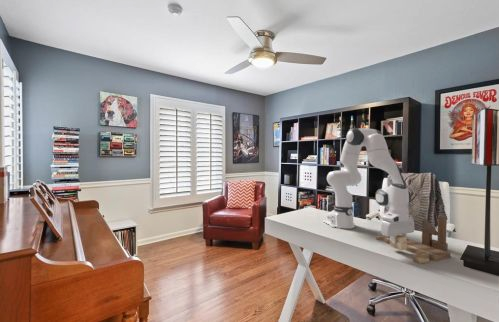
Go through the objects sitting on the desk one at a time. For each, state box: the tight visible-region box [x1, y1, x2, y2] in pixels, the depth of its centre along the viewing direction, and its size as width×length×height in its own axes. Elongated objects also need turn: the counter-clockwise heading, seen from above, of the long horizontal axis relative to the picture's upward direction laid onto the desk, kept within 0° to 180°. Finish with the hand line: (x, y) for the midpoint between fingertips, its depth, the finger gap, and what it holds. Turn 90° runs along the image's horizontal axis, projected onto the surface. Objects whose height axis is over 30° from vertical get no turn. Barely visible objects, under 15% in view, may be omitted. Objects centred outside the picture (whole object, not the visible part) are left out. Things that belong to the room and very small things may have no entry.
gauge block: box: [389, 234, 408, 251], centre depth 126 cm, size 6×4×6 cm, turn 22°
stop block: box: [413, 251, 430, 265], centre depth 115 cm, size 3×6×4 cm, turn 112°
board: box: [376, 234, 452, 262], centre depth 132 cm, size 32×12×2 cm, turn 22°
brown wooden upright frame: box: [421, 214, 449, 252], centre depth 132 cm, size 4×11×18 cm, turn 29°
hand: (398, 242), depth 126 cm, fingers closed on gauge block, 4 cm apart
